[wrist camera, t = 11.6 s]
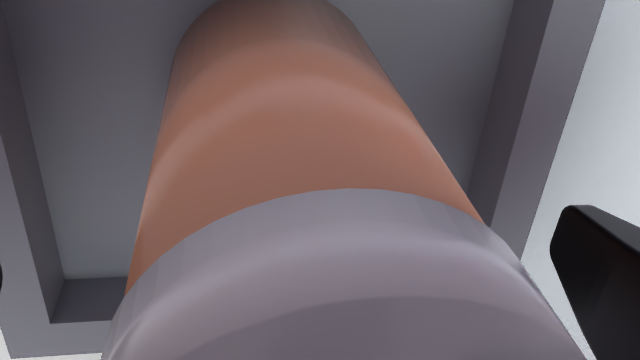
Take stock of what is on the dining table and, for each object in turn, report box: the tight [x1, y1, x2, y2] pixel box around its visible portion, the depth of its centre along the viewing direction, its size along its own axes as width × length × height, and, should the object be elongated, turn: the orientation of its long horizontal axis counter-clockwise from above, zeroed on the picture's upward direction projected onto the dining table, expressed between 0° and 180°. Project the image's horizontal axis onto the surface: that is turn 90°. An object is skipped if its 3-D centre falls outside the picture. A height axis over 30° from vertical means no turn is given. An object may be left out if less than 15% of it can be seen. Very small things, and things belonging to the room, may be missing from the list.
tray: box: [0, 0, 605, 359], centre depth 14 cm, size 14×14×2 cm
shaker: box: [101, 0, 587, 360], centre depth 10 cm, size 5×5×10 cm
